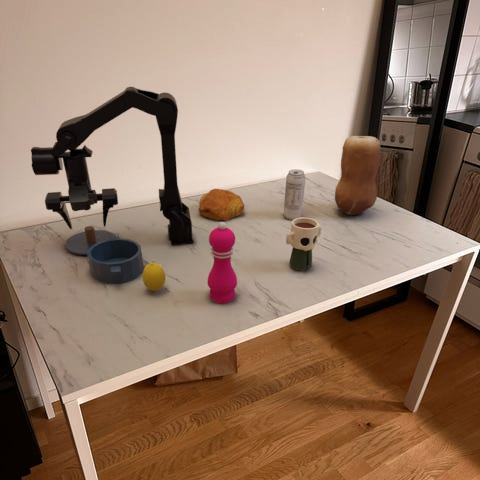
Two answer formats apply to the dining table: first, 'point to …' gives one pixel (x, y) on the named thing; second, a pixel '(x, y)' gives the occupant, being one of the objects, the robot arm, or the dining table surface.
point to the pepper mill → (222, 265)
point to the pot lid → (86, 240)
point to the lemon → (153, 276)
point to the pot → (115, 260)
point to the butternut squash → (358, 174)
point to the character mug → (303, 241)
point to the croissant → (220, 205)
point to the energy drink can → (294, 194)
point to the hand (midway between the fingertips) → (88, 227)
